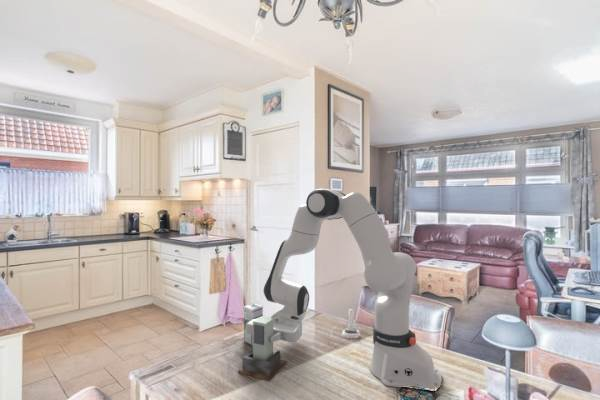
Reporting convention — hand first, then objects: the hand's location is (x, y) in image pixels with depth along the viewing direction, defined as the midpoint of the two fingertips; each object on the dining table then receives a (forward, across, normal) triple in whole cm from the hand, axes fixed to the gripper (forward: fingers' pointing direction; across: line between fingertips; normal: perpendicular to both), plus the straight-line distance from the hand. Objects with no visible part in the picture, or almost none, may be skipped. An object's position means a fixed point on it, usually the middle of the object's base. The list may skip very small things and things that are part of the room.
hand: (261, 338), depth 107 cm
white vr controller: (-39, +20, +11) cm, 45 cm away
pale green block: (-1, 0, +8) cm, 8 cm away
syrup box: (-16, -14, +11) cm, 24 cm away
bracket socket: (-1, 0, +10) cm, 11 cm away
